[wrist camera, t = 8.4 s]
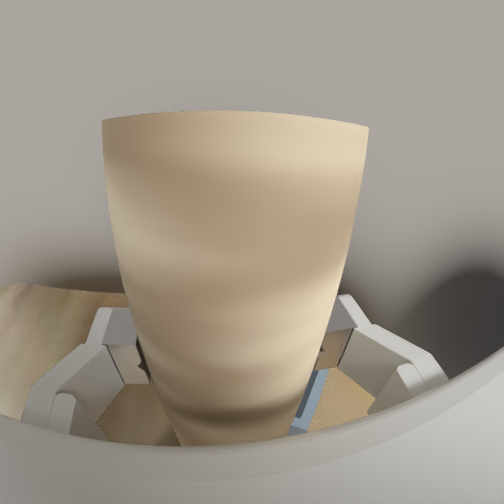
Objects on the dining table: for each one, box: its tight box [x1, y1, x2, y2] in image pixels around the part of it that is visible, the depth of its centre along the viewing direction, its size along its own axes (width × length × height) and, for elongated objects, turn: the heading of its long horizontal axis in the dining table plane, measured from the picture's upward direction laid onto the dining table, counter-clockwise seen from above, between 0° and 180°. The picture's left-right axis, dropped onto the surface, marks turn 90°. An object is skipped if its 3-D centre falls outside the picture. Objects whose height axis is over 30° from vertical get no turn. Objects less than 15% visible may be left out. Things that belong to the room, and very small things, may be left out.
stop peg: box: [102, 111, 369, 446], centre depth 8 cm, size 5×5×14 cm
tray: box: [287, 368, 329, 436], centre depth 28 cm, size 12×12×2 cm
